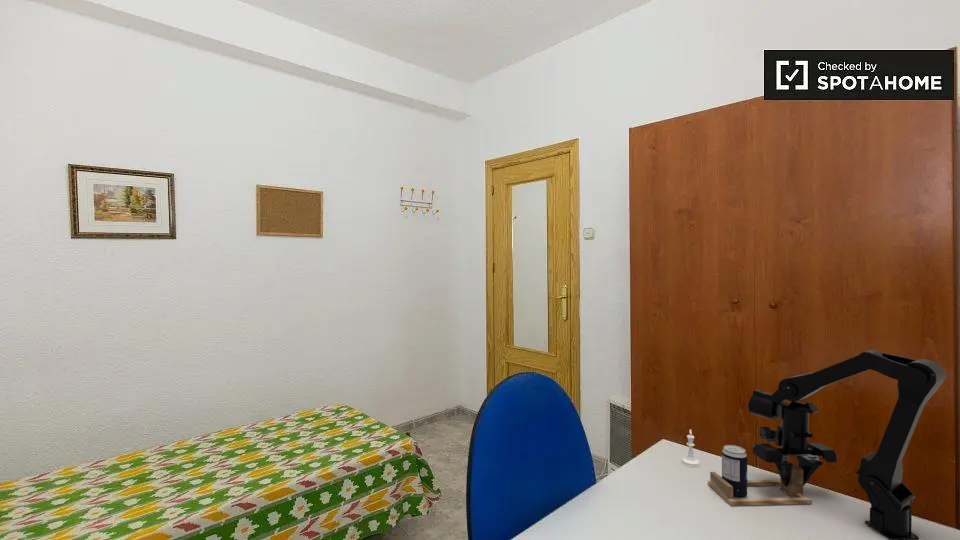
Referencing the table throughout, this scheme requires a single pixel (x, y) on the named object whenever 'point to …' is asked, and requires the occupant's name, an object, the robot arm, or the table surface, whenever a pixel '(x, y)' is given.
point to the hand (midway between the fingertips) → (793, 485)
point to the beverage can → (735, 469)
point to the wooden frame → (792, 489)
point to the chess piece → (690, 453)
